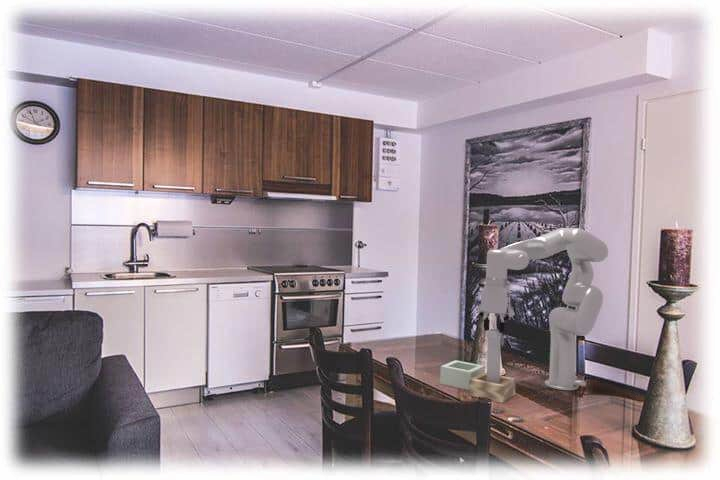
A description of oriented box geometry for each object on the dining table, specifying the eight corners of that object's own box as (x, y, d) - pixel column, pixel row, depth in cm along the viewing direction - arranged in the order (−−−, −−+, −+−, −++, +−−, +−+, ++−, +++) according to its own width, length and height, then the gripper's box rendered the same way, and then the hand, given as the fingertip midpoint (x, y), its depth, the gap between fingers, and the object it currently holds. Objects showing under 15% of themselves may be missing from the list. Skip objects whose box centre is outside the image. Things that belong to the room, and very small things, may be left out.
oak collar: (515, 394, 200) (515, 378, 200) (502, 403, 190) (502, 386, 190) (482, 387, 208) (483, 372, 208) (468, 395, 197) (469, 379, 197)
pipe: (500, 397, 195) (502, 316, 195) (483, 396, 197) (485, 315, 196) (500, 393, 201) (501, 314, 200) (483, 392, 202) (484, 313, 202)
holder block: (484, 383, 214) (484, 365, 214) (470, 390, 203) (471, 372, 203) (454, 376, 222) (455, 360, 221) (440, 383, 211) (440, 366, 211)
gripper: (522, 284, 196) (520, 333, 196) (478, 280, 206) (476, 326, 206) (514, 285, 190) (512, 336, 190) (470, 281, 200) (468, 329, 200)
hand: (494, 330), depth 198 cm, fingers closed on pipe, 5 cm apart
